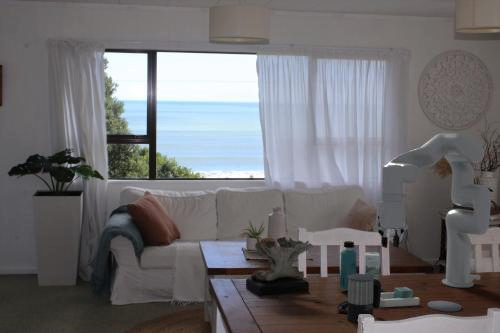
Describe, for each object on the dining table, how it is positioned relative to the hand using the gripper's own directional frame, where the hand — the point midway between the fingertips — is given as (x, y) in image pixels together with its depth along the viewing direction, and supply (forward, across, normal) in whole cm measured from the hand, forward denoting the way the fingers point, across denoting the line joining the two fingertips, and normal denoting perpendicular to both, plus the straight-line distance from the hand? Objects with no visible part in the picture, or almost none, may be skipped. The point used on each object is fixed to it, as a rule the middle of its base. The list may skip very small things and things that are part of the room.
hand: (390, 246), depth 242 cm
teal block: (+21, -6, 0) cm, 22 cm away
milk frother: (+22, +19, +13) cm, 32 cm away
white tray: (+21, -3, 0) cm, 21 cm away
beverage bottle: (+21, +9, -18) cm, 29 cm away
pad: (+21, -18, +9) cm, 29 cm away
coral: (+22, +34, -23) cm, 46 cm away
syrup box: (+21, -2, -20) cm, 29 cm away
